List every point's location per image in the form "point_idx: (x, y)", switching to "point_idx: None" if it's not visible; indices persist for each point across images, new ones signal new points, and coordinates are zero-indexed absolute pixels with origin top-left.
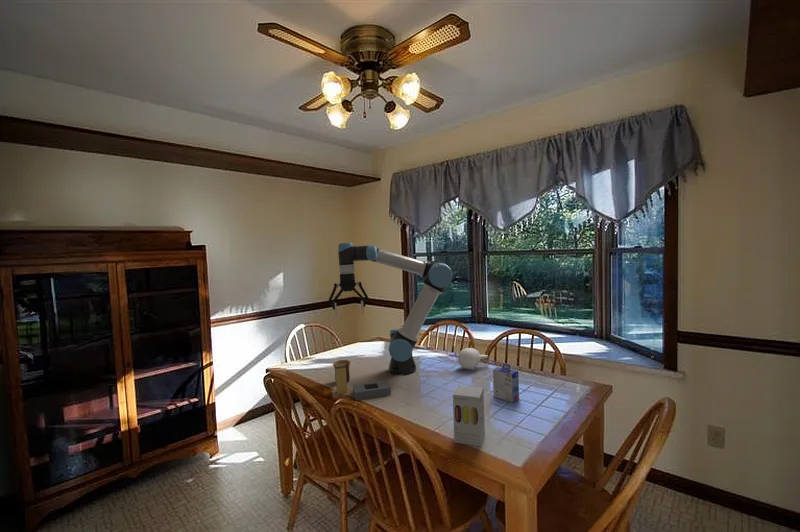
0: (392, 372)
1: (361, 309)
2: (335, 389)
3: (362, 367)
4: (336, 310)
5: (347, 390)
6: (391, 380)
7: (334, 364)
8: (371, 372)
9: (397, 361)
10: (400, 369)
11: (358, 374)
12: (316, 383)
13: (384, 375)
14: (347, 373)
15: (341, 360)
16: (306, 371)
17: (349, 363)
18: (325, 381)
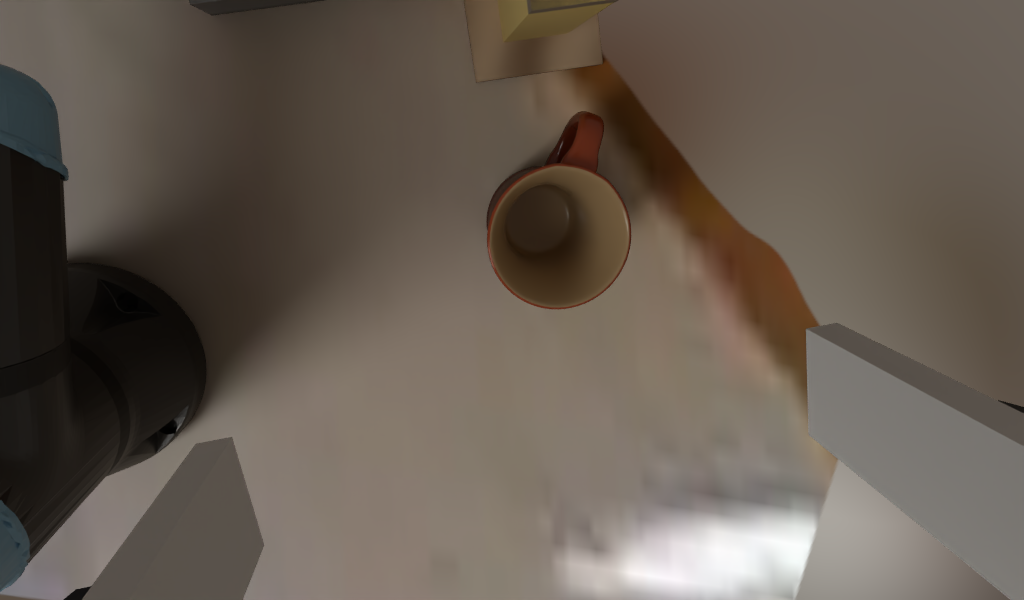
0: (170, 302)
1: (233, 579)
2: (577, 63)
3: (408, 476)
4: (895, 375)
5: (494, 20)
6: (178, 170)
7: (617, 239)
8: (338, 365)
9: (81, 319)
10: (87, 278)
11: (431, 344)
12: (705, 232)
13: (237, 285)
14: (504, 190)
15: (564, 303)
16: (775, 465)
17: (492, 212)
18: (649, 256)
